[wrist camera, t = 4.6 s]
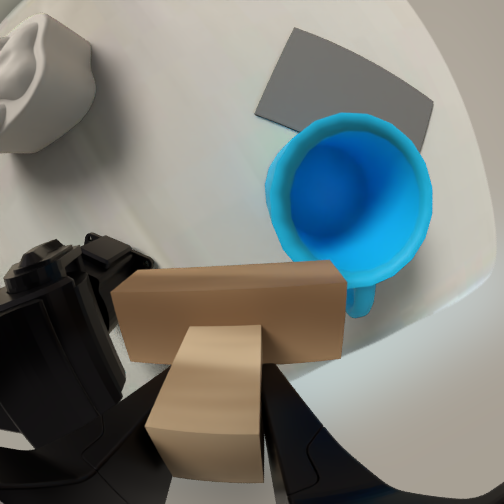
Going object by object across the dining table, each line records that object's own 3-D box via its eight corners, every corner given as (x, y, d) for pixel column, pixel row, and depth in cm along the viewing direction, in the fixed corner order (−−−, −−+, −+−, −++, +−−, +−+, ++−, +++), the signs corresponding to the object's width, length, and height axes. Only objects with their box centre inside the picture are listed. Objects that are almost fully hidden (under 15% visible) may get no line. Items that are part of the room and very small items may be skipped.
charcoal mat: (406, 186, 19) (407, 187, 19) (254, 114, 18) (254, 113, 18) (432, 102, 17) (433, 101, 17) (294, 28, 16) (294, 27, 16)
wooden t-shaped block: (326, 338, 12) (370, 468, 5) (154, 343, 12) (89, 455, 5) (329, 259, 11) (410, 369, 4) (137, 269, 11) (31, 362, 4)
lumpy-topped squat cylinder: (100, 113, 18) (32, 91, 10) (9, 174, 19) (-52, 182, 11) (90, 27, 15) (40, -9, 7) (3, 94, 16) (-49, 85, 8)
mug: (252, 147, 19) (248, 129, 11) (359, 127, 18) (415, 106, 10) (289, 301, 22) (303, 366, 14) (383, 276, 21) (434, 325, 13)
